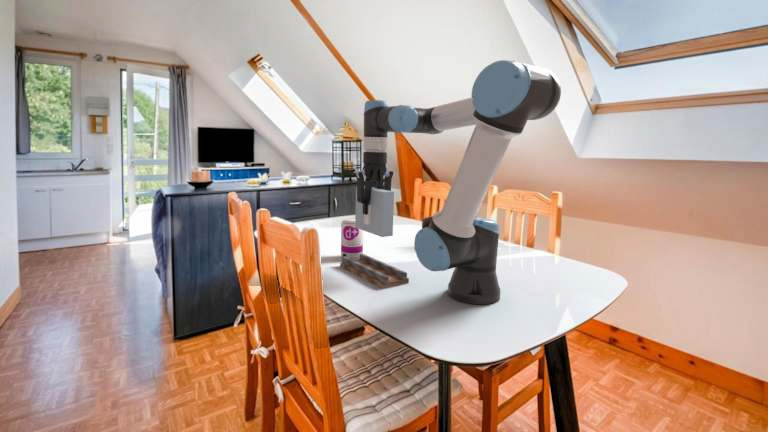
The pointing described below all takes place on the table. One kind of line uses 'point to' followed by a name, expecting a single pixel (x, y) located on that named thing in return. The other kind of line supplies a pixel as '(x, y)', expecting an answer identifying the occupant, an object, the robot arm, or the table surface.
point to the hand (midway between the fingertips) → (373, 223)
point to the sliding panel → (377, 213)
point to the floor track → (375, 271)
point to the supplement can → (351, 239)
